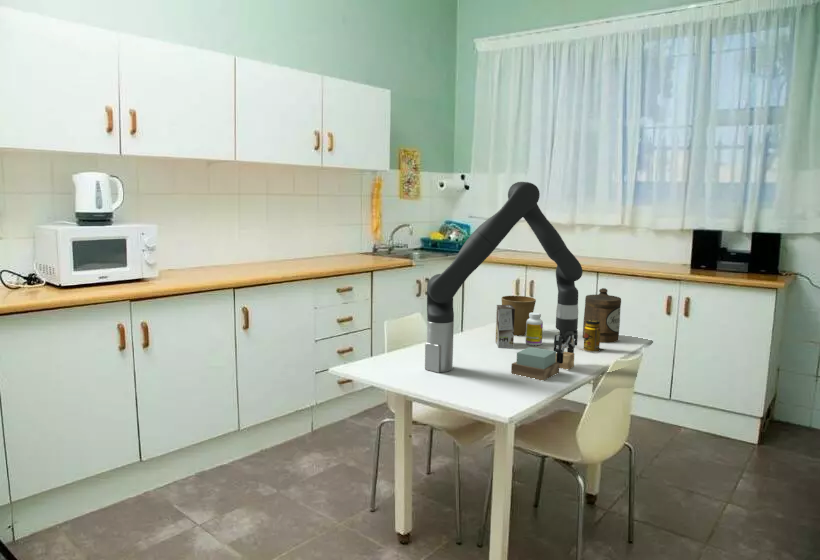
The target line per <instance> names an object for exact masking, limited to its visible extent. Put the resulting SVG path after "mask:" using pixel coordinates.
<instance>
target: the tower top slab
mask: <svg viewBox="0 0 820 560" xmlns="http://www.w3.org/2000/svg"><path fill="white" fill-rule="evenodd" d="M556 353H557V352H556V351H554V350H548V349H545V348H544V349H543V348H538V347H533V346H528V347H526V348H524V349H521V350H520V351H517V352H516V362H517V364H519V365H524V366H529V367H534V368H540V369H545V368H547V367H549V366H551V365H552V364H554V363H556Z"/></svg>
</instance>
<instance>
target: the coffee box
mask: <svg viewBox="0 0 820 560" xmlns="http://www.w3.org/2000/svg"><path fill="white" fill-rule="evenodd" d="M495 311H496V312H495V313H496V315H495V316H496V317H495V344H496V346H497V348H501V349H504V348H505V349H513V348H514V336H515V335H514V319H515V308H514V307H513V306H512V305H502V304H496V310H495Z"/></svg>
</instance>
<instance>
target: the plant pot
mask: <svg viewBox="0 0 820 560" xmlns="http://www.w3.org/2000/svg"><path fill="white" fill-rule="evenodd" d="M536 301H537V299H536V298H534V297H531V296H525V295H504V296H503V295H502V296H501V305H512V306H513V307H514V308H515V319H514V336H515V335H517V336H518V337H520V336H519V335H522V336H526V322H527V320H528V319H529V318H530V317H529V313H532V312H534V310H535V306H536Z"/></svg>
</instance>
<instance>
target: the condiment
mask: <svg viewBox="0 0 820 560" xmlns="http://www.w3.org/2000/svg"><path fill="white" fill-rule="evenodd" d="M600 346H601V345H600V322H599V321H598V320H586V327H585V331H584V338H583V348H580V349H579V350H580V351H584V352H589V353H595V354H596V353H597V354H598V353H600V352H603V351H605V350H606V348H603V347H600Z"/></svg>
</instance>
